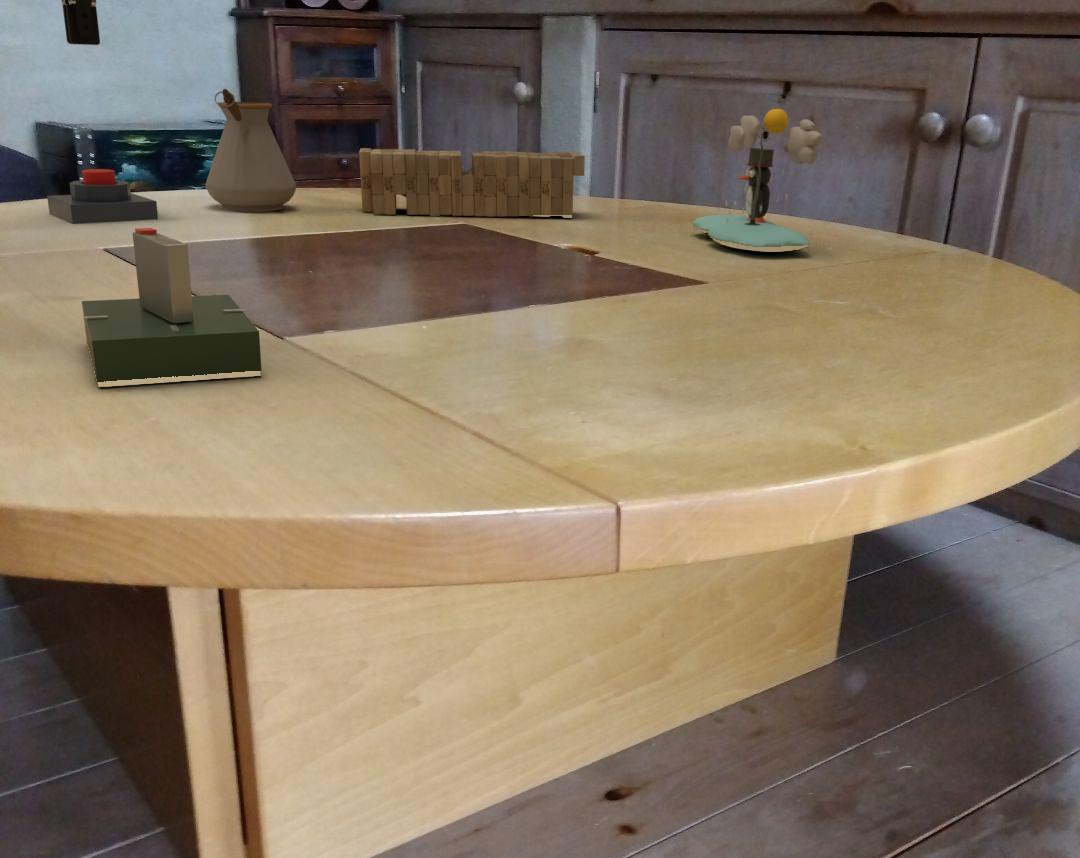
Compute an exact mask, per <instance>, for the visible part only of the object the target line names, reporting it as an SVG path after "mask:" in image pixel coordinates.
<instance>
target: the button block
mask: <svg viewBox="0 0 1080 858" xmlns="http://www.w3.org/2000/svg"><path fill="white" fill-rule="evenodd" d="M69 190H70V194H63V195H62V194H61V195H58V194H57V195H47V196H46V198H47V199H46V200H47V205H48V213H49V215H50V216H52V217H55V218H57V219H60V220H62V221H65V222H67V223H68V224H69V223H70V224H72V225H80V224H97V223H99V224H100V223H113V222H114V223H117V222H135V221H151V220H152V221H153V220H154V221H155V220H159V213H158V212H159V211H158V203H157V201H156V200H154V199H152V198H148V197H145V196H142V195H139V194H135V193H133V192H132V191H131V183H130V181H126V180H118V179H116V184H108V185H91V184H84V182H83V179H82V180H81V179H80V180H73V181H70V182H69Z"/></svg>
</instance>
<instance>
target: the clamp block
mask: <svg viewBox="0 0 1080 858" xmlns="http://www.w3.org/2000/svg"><path fill="white" fill-rule="evenodd" d="M192 305H193V317H194V322H189V323H180V324H173V323H171V322H169V321H167V320H165V319H163V318H161V317H159V316H157V315H155V314H153V313H151V312H149V311H147V310H145V309H143V308H141V307H140V299H139V298H123V299H119V298H118V299H97V300H82V301H81V307H82V315H83V324H84V331H85V338H86V345H87V344H88V345H87V349H88V348H89V349H88V352H89V351H90V354H89V356H90V355H91V358H90V360H91V359H92V362H91V364H92V363H93V366H92V368H93V367H94V370H93V372H94V371H95V374H94V376H95V375H96V378H95V380H96V379H97V382H104V381H105V382H106V381H117V380H132V379H145V378H146V379H147V378H158V377H160V378H161V377H172V376H174V377H175V376H176V377H178V376H192V375H194V376H195V375H204V374H205V375H207V374H217V373H218V374H219V373H232V372H245V371H261V370H263V369H262V357H261V356H262V355H261V339H260V331H259V330H258V328H257V327H256V326H255V324H254V323H253V322H252V320H250V319H249V317H248V316H247V315H246V314H245V312H246V309H245V308H240V307H239V305H238V304H237V303H236V302H235V301H234V300H233V298H232V297H231V296H230V295H229V294H215V295H214V294H212V295H210V294H209V295H192ZM97 382H96V383H97Z"/></svg>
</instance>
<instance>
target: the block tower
mask: <svg viewBox="0 0 1080 858" xmlns="http://www.w3.org/2000/svg"><path fill="white" fill-rule="evenodd" d="M358 154H359V173H360V175H359V176H360V191H361V205H362V207H361V209H362V212H363V213H373V214H374V215H390V216H391V215H397V195H399V196H402V197H405V200H406V201H405V202H406V215H407V216H408V215H409V216H410V215H411V216H418V215H420V216H421V215H423V216H427V215H429V216H430V217H440V216H441V215H442V216H452V217H454V216H455V217H462V216H464V217H472V216H474V217H519V216H533V215H573V216H574V176H575V177H584V176H585V169H586V167H585V165H586V156H585V155H584V154H581V153H579V152H569V151H566V150H563V151H562V150H561V151H559V150H558V151H557V152H525V151H507V150H506V151H502V150H501V151H499V150H498V151H497V150H495V151H492V150H483V151H482V152H472V153H471V167H470V168H469V169H468V170H463V160H462V159H463V157H462V153H461V150H416V149H415V148H406V149H404V148H395V149H394V148H381V149H380V148H379V149H377V148H375V149H372V148H370V147H369V148H366V147H363V148H361V147H360V148H359V152H358Z"/></svg>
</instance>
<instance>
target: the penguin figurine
mask: <svg viewBox="0 0 1080 858" xmlns="http://www.w3.org/2000/svg"><path fill="white" fill-rule="evenodd" d="M763 124H764V125H763V126H764V128H763V126H761V124H760V120H759V119H758V118H757V116H754V115H752V114H750V115H743V116H742V117H741V118H740V125H732V126H731V127H730V131H729V133H730V136H729V139H728V143H727V144H728V148H729V149H730V150H733V151H735V152H737V153H739V152H741V151H742V149H743V147H744V146H745V147H746V148H749V156H748V163H746V166H747V168H746V170H745V175H743V176H739V177H735V179H736V180H738V179H739V180H743V181H744V180H745V181H748V183H745V187H744V188H743V189H744V190H743V192H746V198H745V199H744V201H745V207H742V211H741V213H742V215H736V214H731V213H732V210H731V208H729V210H728V214H712V215H710V214H709V215H704V216H701V217H698V218H696V219H694V220H693V222H692V223H691V224H692V227H693V226H694V227H696V228H699V229H701V230H706V231H708V234H707V235H709V236H710V237H712V238H714V239H716V240H720V241H725V242H732V243H737V244H741V245H745V246H753V247H781V246H804V245H809V246H810V241H809V238H808V237H807V236H806V235H805V234H803V233H802V232H800V231H798V230H795V229H792V228H790V227H785V226H782V225H778V224H776V223H774V222H773V221H771V220H768V219H765V218H764V217H765V216H766V215H767V213H768V211H769V207H770V198H771V191H770V186H769V185H768V184H769V183H772V182H773V181H772V180H773V179H774V178H775V176H776V175H775V174H776V173H775V172H771V170H770V168H773V167H774V164H773V162H774V153H775V149H774V148H764V147H765V146H767V145H763V144H762V143H763V142H764V141H768V140H773V138H774V137H772V138H771V137H769V138H765V139H764V140H763V137H764V134H765V132H769V133H770V134H775V135H776V134H781V133H782V132H784V131H785V130H786V128H787V127H788V125H789V117H788V113H787V112H786V110H784V109H781V108H772V109H770V110H769V111H768V112H767V113H766V114H765V116H764V119H763ZM815 127H816V125H815V123H814V122H813V121H812V120H810V119H806V118H805V119H801V121H799V126H792V127H790V128H789V129H788V131H787V141H786V142H785V143H783V145H782V150H783V151H784V152H785V153H787V154H789V158H790V160H791V162H792V163H794V164H797V165H803V164H814V163H815V162H816V160H817V157H818V150H817V146H818V145H820V144H822V142H823V135H822V134H821V133H820V131H817V130H815ZM760 129H762V134H761V136H759V132H760ZM765 129H766V130H765ZM757 138H759V139H760V142H757ZM756 142H757V144H759V146H760V147H754V146H755V145H756ZM782 169H783V170H781V176H782V177H784V176H785V169H784V168H782ZM708 170H709V171H708V173H709V175H710V173H711V170H712V169H711V167H709V168H708ZM788 196H789V194H788V193H786V194H785V197H784V200H785V201H787V200H788ZM740 199H741V197H740ZM741 200H742V199H741ZM776 202H779V196H776ZM728 203H729V202H728V201H725V208H727V206H728ZM733 204H734V206H737V200H734V203H733ZM721 205H722V204H720V205H719V209H718V210H719V211H721V210H722V206H721ZM745 212H746V214H747V215H744V214H745ZM694 227H693V228H694ZM709 236H708V237H709ZM710 237H709V238H710Z"/></svg>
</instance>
